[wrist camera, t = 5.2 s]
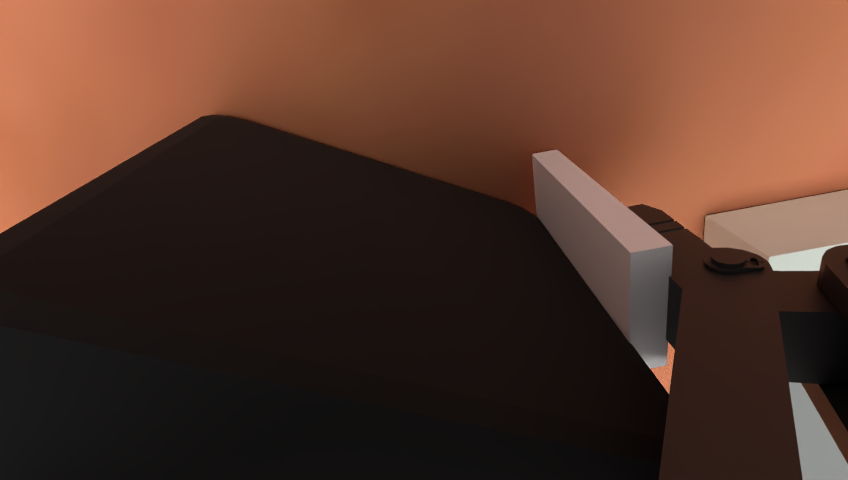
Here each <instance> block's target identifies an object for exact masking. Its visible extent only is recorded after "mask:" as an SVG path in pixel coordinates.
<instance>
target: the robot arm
mask: <svg viewBox="0 0 848 480" xmlns="http://www.w3.org/2000/svg"><path fill="white" fill-rule="evenodd" d="M532 164H533V177H534V190H535V202H536V215H537V218H539V219H540V221H541V222H542V223H543V225H544V226H545V227H546V229H547V230H548V232H549V233H550V234H551V236H552V237H553V238H554V240H555V241H556V243H557V244H558V245H559V247H560V248H561V249H562V251H563V252H564V254H565V255H566V256H567V258H568V259H569V260H570V262H571V263H572V265H573V266H574V267H575V269H576V270H577V271H578V273H579V274H580V276H581V277H582V278H583V280H584V281H585V282H586V284H587V285H588V286H589V288H590V289H591V291H592V292H593V293H594V295H595V296H596V297H597V299H598V300H599V302H600V303H601V304H602V306H603V307H604V308H605V310H606V311H607V313H608V314H609V315H610V317H611V318H612V319H613V321H614V322H615V324H616V325H617V326H618V328H619V329H620V330H621V332H622V333H623V335H624V336H625V337H626V339H627V340H628V341H629V343H631V344H632V345H633V346H634V348H635V349H636V350H637V352H638V353H639V354H640V356H641V357H642V359H643V360H644V361H645V363H646V364H647V365H648V367H649V368H655V367H661V366H666V365H667V347H668V342H669V343H670V344H671V346H672V347H673V348H674V349H675V354H674V362H673V370H672V377H671V385H670V393H669V401H668V409H667V417H666V425H665V433H664V441H663V449H662V457H661V465H660V473H659V480H803V478H802V471H801V464H800V457H799V450H798V443H797V436H796V429H795V422H794V415H793V408H792V401H791V394H790V387H789V382H792V383H801V384H802V386H803V387H804V389H805V391H806V392H807V394H808V396H809V398H810V399H811V401H812V403H813V405H814V406H815V408H816V410H817V412H818V413H819V415H820V417H821V419H822V420H823V422H824V424H825V425H826V427H827V429H828V431H829V432H830V434H831V436H832V438H833V439H834V441H835V443H836V445H837V446H838V448H839V450H840V452H841V453H842V455H843V457H844V458H845V460H846V462H847V464H848V245H839V246H835V247H833V248H830V249H828V250H826V251H825V253H824V254H823V256H822V260H821V265H820V270H819V271H773V269H772V267H771V265H770V263H769V262H768V261H767V260H766V259H764V258H763V257H761V256H759V255H758V254H755V253H752V252H749V251H746V250H741V249H735V248H728V247H725V248H712V247H711V246H709V245H708V244H707V243H705V242H704V241H703V240H701V239H700V238H698V237H697V236H696V235H694V234H693V233H692V232H690V231H689V230H687V229H684V227H683V226H682V225H681V224H679V223H678V222H677V221H674V219H672V218H671V217H670V216H668V215H667V214H666V213H664V212H663V211H662V210H659V209H656V208H653V207H650V206H647V205H644V204H640V205H635V206H630V207H626V206H625V205H624V204H623V203H621V202H620V201H619V200H618V199H617V198H615V197H614V196H613V195H612V194H610V193H609V192H608V191H607V190H606V189H604V188H603V187H602V186H601V185H600V184H598V183H597V182H596V181H595V180H593V179H592V178H591V177H590V176H589V175H587V174H586V173H585V172H584V171H583V170H581V169H580V168H579V167H578V166H576V165H575V164H574V163H573V162H572V161H570V160H569V159H568V158H567V157H566V156H564V155H563V154H562V153H561V152H559V151H558V150H557V149H556V150H551V151H545V152H540V153H535V154H532Z"/></svg>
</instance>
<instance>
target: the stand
mask: <svg viewBox="0 0 848 480" xmlns="http://www.w3.org/2000/svg"><path fill="white" fill-rule="evenodd" d="M704 242H705V243H707V244H708V245H709V246H711V247H712V248H725V247H728V248H735V249H741V250H746V251H749V252H752V253H755V254H758V255H759V256H761V257H763V258H764V259H766V260H767V261H768V262H769V263H770V265H771V267H772V269H773V271H819V270H820V265H821V260H822V256H823V254H824V253H825V251H826V250H828V249H830V248H833V247H835V246H839V245H848V189H847V190H842V191H836V192H831V193H826V194H820V195H815V196H809V197H804V198H799V199H793V200H788V201H782V202H777V203H771V204H766V205H761V206H755V207H750V208H744V209H739V210H734V211H728V212H723V213H717V214H712V215H706V217H705V229H704ZM789 387H790V394H791V401H792V408H793V415H794V422H795V429H796V436H797V443H798V450H799V457H800V464H801V471H802V478H803V480H848V464H847V462H846V460H845V458H844V457H843V455H842V453H841V452H840V450H839V448H838V446H837V445H836V443H835V441H834V439H833V438H832V436H831V434H830V432H829V431H828V429H827V427H826V425H825V424H824V422H823V420H822V419H821V417H820V415H819V413H818V412H817V410H816V408H815V406H814V405H813V403H812V401H811V399H810V398H809V396H808V394H807V392H806V391H805V389H804V387H803V386H802V384H801V383H792V382H789Z"/></svg>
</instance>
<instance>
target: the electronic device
mask: <svg viewBox="0 0 848 480" xmlns="http://www.w3.org/2000/svg"><path fill="white" fill-rule="evenodd" d="M668 401H669V394H668V393H667V391H666V390H665V389H664V387H663V386H662V384H661V383H660V382H659V380H658V379H657V378H656V376H655V375H654V374H653V372H652V371H651V369H650V368H649V367H648V365H647V364H646V363H645V361H644V360H643V359H642V357H641V356H640V354H639V353H638V352H637V350H636V349H635V348H634V346H633V345H632V344H631V343H629V341H628V340H627V339H626V337H625V336H624V335H623V333H622V332H621V330H620V329H619V328H618V326H617V325H616V324H615V322H614V321H613V319H612V318H611V317H610V315H609V314H608V313H607V311H606V310H605V308H604V307H603V306H602V304H601V303H600V302H599V300H598V299H597V297H596V296H595V295H594V293H593V292H592V291H591V289H590V288H589V286H588V285H587V284H586V282H585V281H584V280H583V278H582V277H581V276H580V274H579V273H578V271H577V270H576V269H575V267H574V266H573V265H572V263H571V262H570V260H569V259H568V258H567V256H566V255H565V254H564V252H563V251H562V249H561V248H560V247H559V245H558V244H557V243H556V241H555V240H554V238H553V237H552V236H551V234H550V233H549V232H548V230H547V229H546V227H545V226H544V225H543V223H542V222H541V221H540V219H539V218H537V217H536V216H535V215H534V214H532V213H530V212H529V211H527V210H525V209H523V208H522V207H519V206H517V205H514V204H511V203H509V202H506V201H503V200H500V199H497V198H493V197H490V196H487V195H484V194H481V193H477V192H474V191H471V190H468V189H464V188H461V187H458V186H455V185H452V184H448V183H445V182H442V181H439V180H436V179H432V178H429V177H426V176H423V175H420V174H416V173H413V172H410V171H407V170H404V169H400V168H397V167H394V166H391V165H388V164H384V163H381V162H378V161H375V160H372V159H368V158H365V157H362V156H359V155H356V154H352V153H349V152H346V151H343V150H340V149H336V148H333V147H330V146H327V145H323V144H320V143H317V142H314V141H311V140H307V139H304V138H301V137H298V136H295V135H291V134H288V133H285V132H282V131H279V130H275V129H272V128H269V127H266V126H263V125H259V124H256V123H253V122H250V121H246V120H242V119H238V118H234V117H230V116H221V115H208V116H203V117H200V118H199V119H197V120H195V121H194V122H192V123H190V124H188V125H187V126H185V127H183V128H182V129H180V130H178V131H176V132H175V133H173V134H171V135H169V136H168V137H166V138H164V139H163V140H161V141H159V142H157V143H156V144H154V145H152V146H151V147H149V148H147V149H145V150H144V151H142V152H140V153H138V154H137V155H135V156H133V157H132V158H130V159H128V160H126V161H125V162H123V163H121V164H120V165H118V166H116V167H114V168H113V169H111V170H109V171H107V172H106V173H104V174H102V175H101V176H99V177H97V178H95V179H94V180H92V181H90V182H89V183H87V184H85V185H83V186H82V187H80V188H78V189H76V190H75V191H73V192H71V193H70V194H68V195H66V196H64V197H63V198H61V199H59V200H58V201H56V202H54V203H52V204H51V205H49V206H47V207H45V208H44V209H42V210H40V211H39V212H37V213H35V214H33V215H32V216H30V217H28V218H27V219H25V220H23V221H21V222H20V223H18V224H16V225H14V226H13V227H11V228H9V229H8V230H6V231H4V232H2V233H1V234H0V480H659V473H660V465H661V457H662V449H663V441H664V433H665V425H666V417H667V409H668Z"/></svg>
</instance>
